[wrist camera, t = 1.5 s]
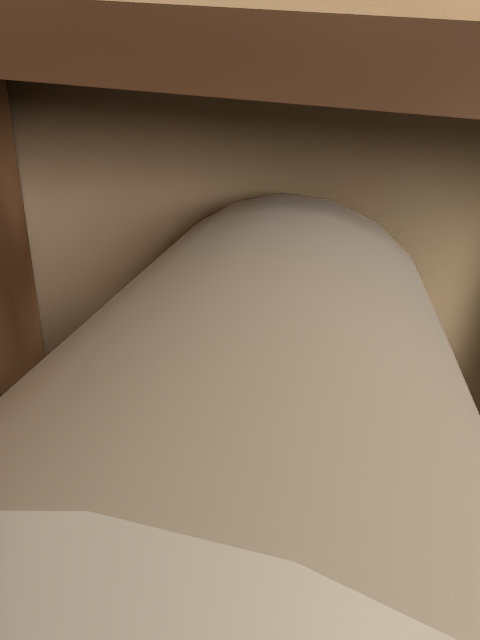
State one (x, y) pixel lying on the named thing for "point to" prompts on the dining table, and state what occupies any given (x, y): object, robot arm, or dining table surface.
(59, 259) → the dining table surface
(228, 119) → the dining table surface
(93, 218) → the dining table surface
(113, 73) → the wooden divided tray
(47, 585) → the can
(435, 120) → the dining table surface
